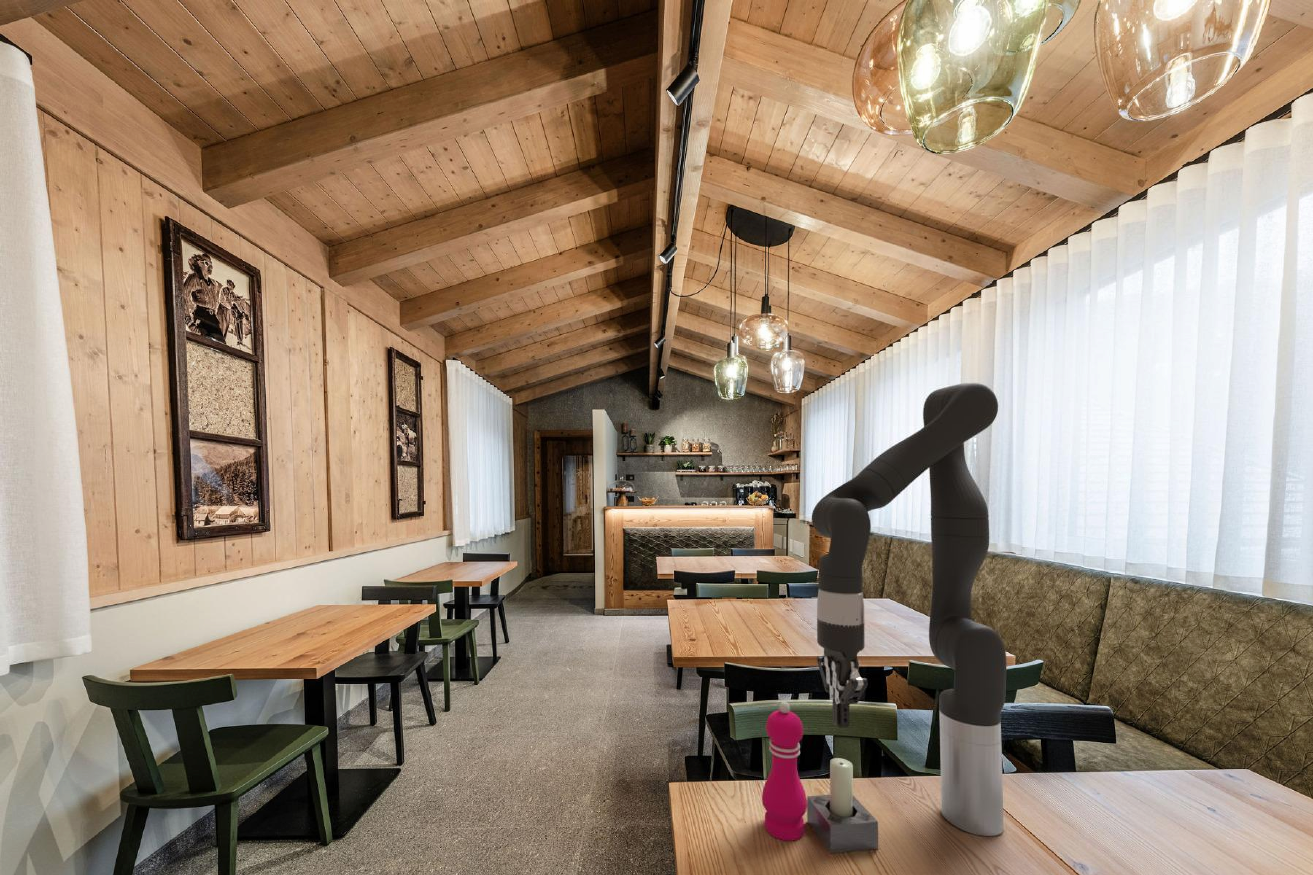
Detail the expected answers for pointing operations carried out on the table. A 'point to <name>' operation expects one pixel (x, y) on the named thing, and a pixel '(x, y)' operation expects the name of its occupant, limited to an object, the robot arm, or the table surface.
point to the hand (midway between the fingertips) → (840, 725)
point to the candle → (841, 788)
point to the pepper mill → (784, 777)
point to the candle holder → (842, 826)
